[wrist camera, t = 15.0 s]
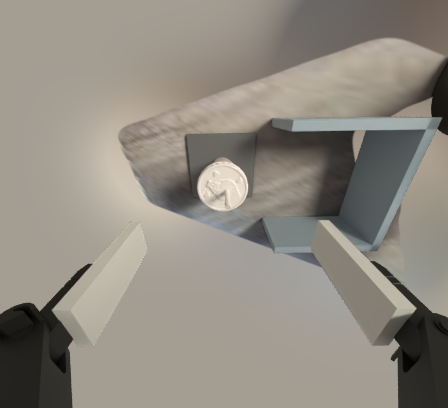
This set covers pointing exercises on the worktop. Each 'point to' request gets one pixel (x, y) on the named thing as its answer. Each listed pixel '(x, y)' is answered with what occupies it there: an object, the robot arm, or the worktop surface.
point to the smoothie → (222, 185)
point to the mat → (221, 154)
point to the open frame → (361, 180)
